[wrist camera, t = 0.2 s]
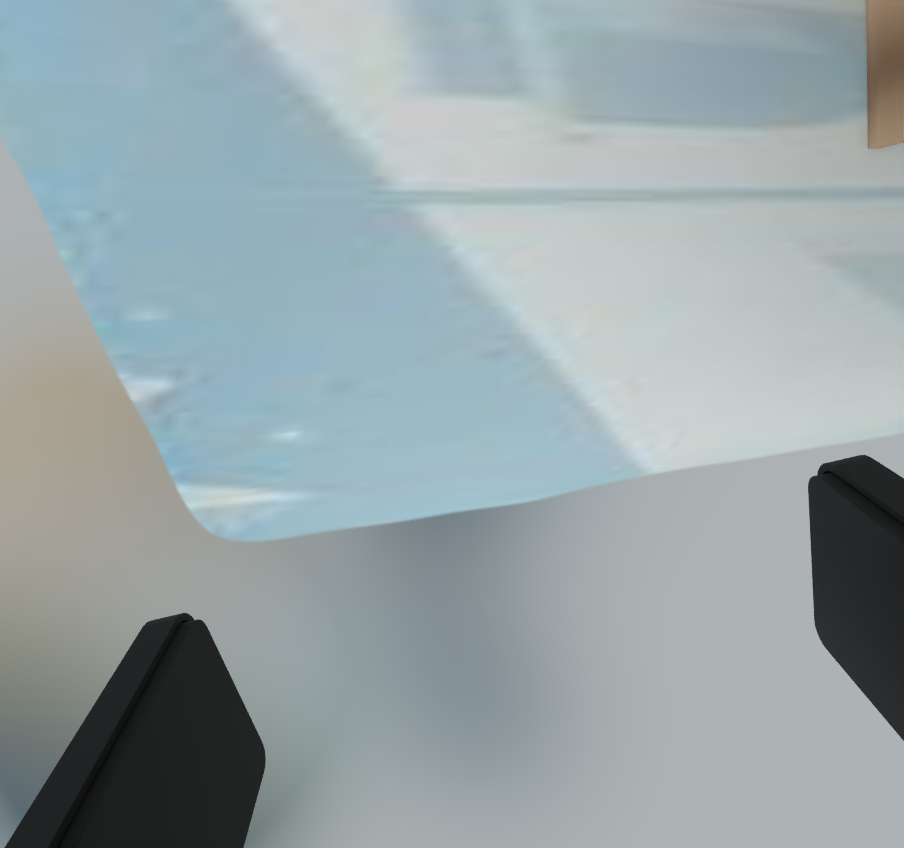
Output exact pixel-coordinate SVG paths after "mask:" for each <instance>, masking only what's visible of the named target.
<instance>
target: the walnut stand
mask: <svg viewBox="0 0 904 848" xmlns="http://www.w3.org/2000/svg"><path fill="white" fill-rule="evenodd" d="M867 82H868V149H873V148H882V147H886V146H890V145H894V144H897V143H901V142H904V0H867Z"/></svg>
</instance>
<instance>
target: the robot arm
mask: <svg viewBox="0 0 904 848" xmlns="http://www.w3.org/2000/svg"><path fill="white" fill-rule="evenodd" d="M808 493H809V514H810V535H811V556H812V577H813V597H814V598H813V599H814V619H815V627H816V630H817V633H818V635H819V638H820V640H821V641H822V643H823V645H824V646H825V648H826V649H827V650H828V651H829V652H830V654H831V655H832V656H833V657H834V658H835V660H836V661H837V662H838V663H839V664H840V666H841V667H842V668H843V669H844V670H845V672H846V673H847V674H848V675H849V676H850V678H851V679H852V680H853V681H854V682H855V683H856V685H857V686H858V687H859V688H860V689H861V691H862V692H863V693H864V694H865V695H866V697H867V698H868V699H869V700H870V701H871V702H872V704H873V705H874V706H875V707H876V708H877V710H878V711H879V712H880V713H881V714H882V716H883V717H884V718H885V719H886V720H887V721H888V723H889V724H890V725H891V726H892V727H893V728H894V730H895V731H896V732H897V733H898V735H899V736H900V737H901V738H902V739H903V740H904V478H902V477H900V476H899V475H897V474H896V473H894V472H893V471H891V470H890V469H888V468H886V467H885V466H883V465H882V464H880V463H879V462H877V461H876V460H874V459H872V458H871V457H868V456H866V455H859V456H855V457H851V458H846V459H842V460H838V461H833V462H830V463H825V464H823V465H821V466H820V468H819V470H818V475H817V476H813V477H811V479H810V480H809V485H808ZM264 769H265V750H264V746H263V743H262V741H261V739H260V737H259V735H258V733H257V730H256V729H255V726H254V724H253V722H252V720H251V718H250V716H249V714H248V712H247V710H246V708H245V705H244V703H243V701H242V699H241V697H240V695H239V693H238V691H237V689H236V687H235V684H234V683H233V680H232V678H231V676H230V674H229V672H228V670H227V668H226V666H225V664H224V661H223V659H222V657H221V655H220V653H219V651H218V649H217V647H216V645H215V643H214V641H213V639H212V636H211V635H210V632H209V630H208V628H207V626H206V625H205V623H204V622H203V621H202V620H194V619H193V617H192V616H190V615H189V614H186V613H182V614H178V615H173V616H169V617H165V618H161V619H156V620H152V621H149V622H147V623H146V624H145V625H144V626H143V627H142V629H141V631H140V632H139V634H138V635H137V637H136V639H135V640H134V642H133V644H132V645H131V647H130V648H129V650H128V652H127V653H126V655H125V656H124V658H123V660H122V661H121V663H120V664H119V666H118V667H117V669H116V671H115V672H114V674H113V676H112V677H111V679H110V680H109V682H108V683H107V685H106V687H105V688H104V690H103V691H102V693H101V695H100V696H99V698H98V700H97V701H96V703H95V704H94V706H93V707H92V709H91V711H90V712H89V714H88V715H87V717H86V719H85V720H84V722H83V724H82V725H81V727H80V728H79V730H78V731H77V733H76V735H75V736H74V738H73V740H72V741H71V743H70V744H69V746H68V747H67V749H66V751H65V752H64V754H63V755H62V757H61V759H60V760H59V762H58V763H57V765H56V767H55V768H54V770H53V771H52V773H51V775H50V776H49V778H48V779H47V781H46V783H45V784H44V786H43V787H42V789H41V791H40V792H39V794H38V795H37V797H36V799H35V800H34V802H33V803H32V805H31V806H30V808H29V810H28V811H27V813H26V814H25V816H24V818H23V819H22V821H21V822H20V824H19V826H18V827H17V829H16V831H15V832H14V834H13V835H12V837H11V838H10V840H9V842H8V843H7V845H6V847H5V848H243V847H244V843H245V840H246V836H247V832H248V828H249V825H250V821H251V818H252V814H253V810H254V807H255V803H256V799H257V795H258V792H259V788H260V785H261V781H262V777H263V774H264Z"/></svg>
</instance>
